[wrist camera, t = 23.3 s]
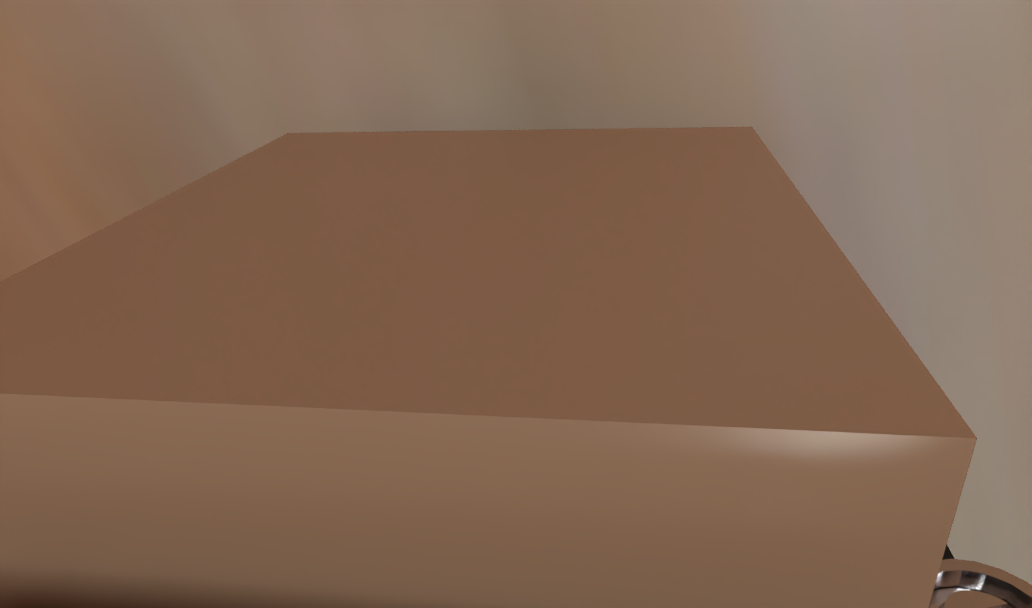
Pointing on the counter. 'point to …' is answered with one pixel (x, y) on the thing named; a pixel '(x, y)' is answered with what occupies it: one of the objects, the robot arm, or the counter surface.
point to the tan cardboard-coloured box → (470, 389)
